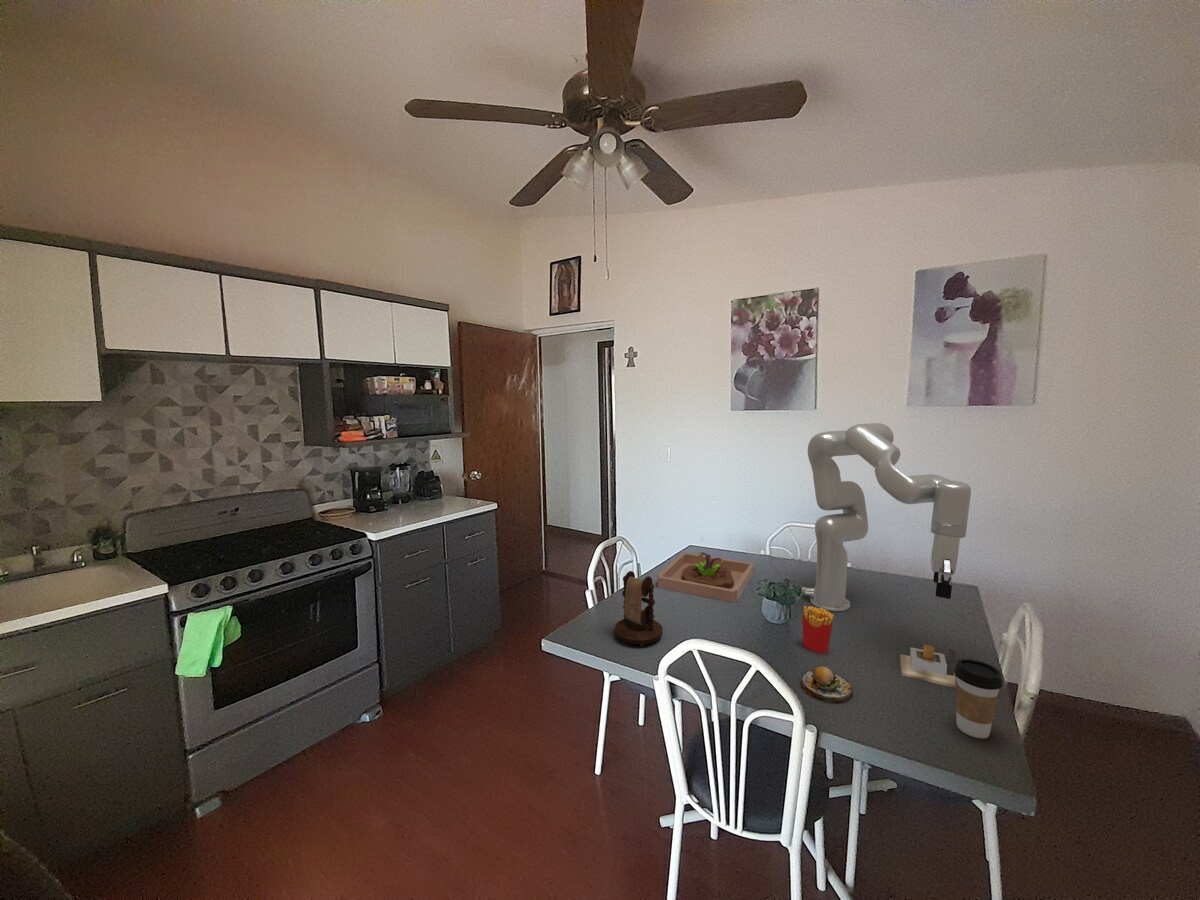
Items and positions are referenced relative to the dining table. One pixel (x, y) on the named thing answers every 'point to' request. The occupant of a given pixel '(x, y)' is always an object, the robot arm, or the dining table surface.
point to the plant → (708, 573)
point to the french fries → (817, 629)
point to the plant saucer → (673, 581)
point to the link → (928, 663)
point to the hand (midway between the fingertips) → (941, 589)
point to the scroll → (638, 612)
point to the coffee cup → (976, 696)
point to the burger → (826, 686)
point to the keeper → (929, 655)
